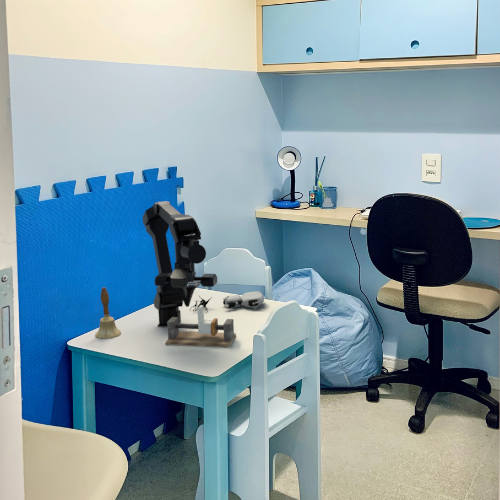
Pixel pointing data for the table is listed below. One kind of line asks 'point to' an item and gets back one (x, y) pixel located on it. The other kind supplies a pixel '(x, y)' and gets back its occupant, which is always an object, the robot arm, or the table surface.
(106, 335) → the hand bell
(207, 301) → the creature
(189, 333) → the rail board
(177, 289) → the robot arm
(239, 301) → the robot toy
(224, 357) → the table surface
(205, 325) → the white l-bracket
